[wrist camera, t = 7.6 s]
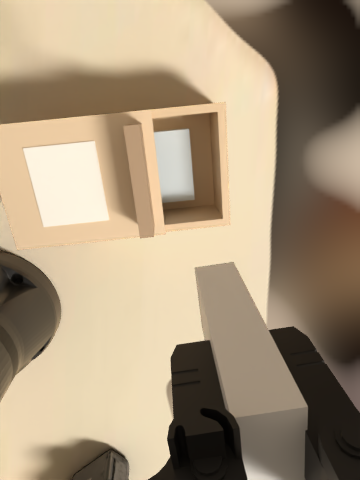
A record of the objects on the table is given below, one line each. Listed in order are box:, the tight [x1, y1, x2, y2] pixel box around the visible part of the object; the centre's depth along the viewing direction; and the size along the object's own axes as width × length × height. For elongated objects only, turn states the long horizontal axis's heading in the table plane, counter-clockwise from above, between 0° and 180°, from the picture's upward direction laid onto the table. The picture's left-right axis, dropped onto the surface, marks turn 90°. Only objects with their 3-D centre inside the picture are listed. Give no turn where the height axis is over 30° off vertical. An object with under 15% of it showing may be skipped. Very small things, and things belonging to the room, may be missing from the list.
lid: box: [0, 109, 166, 250], centre depth 27 cm, size 14×11×4 cm
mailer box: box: [151, 102, 230, 232], centre depth 32 cm, size 14×11×6 cm
